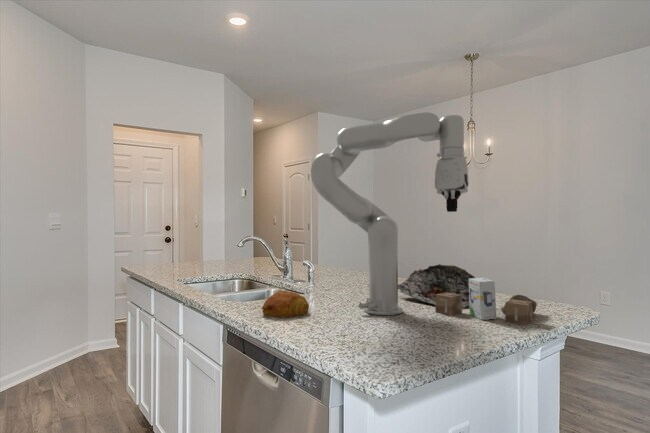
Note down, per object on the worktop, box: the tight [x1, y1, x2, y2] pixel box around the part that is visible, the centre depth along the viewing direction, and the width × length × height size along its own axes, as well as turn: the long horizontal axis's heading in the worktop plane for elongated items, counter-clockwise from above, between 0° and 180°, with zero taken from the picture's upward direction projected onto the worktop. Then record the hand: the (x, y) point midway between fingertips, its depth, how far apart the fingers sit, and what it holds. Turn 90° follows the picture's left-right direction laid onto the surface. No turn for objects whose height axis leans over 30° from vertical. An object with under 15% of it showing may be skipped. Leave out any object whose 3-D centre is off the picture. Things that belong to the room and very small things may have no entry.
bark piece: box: [398, 263, 476, 310], centre depth 156 cm, size 19×8×30 cm
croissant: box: [261, 290, 310, 318], centre depth 137 cm, size 14×16×8 cm
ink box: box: [468, 277, 497, 321], centre depth 131 cm, size 9×5×12 cm, turn 5°
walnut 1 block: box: [504, 299, 533, 326], centre depth 124 cm, size 6×6×6 cm
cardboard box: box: [435, 292, 463, 317], centre depth 136 cm, size 6×6×6 cm
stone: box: [500, 294, 538, 315], centre depth 133 cm, size 13×8×8 cm
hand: (451, 211), depth 134 cm, fingers closed
